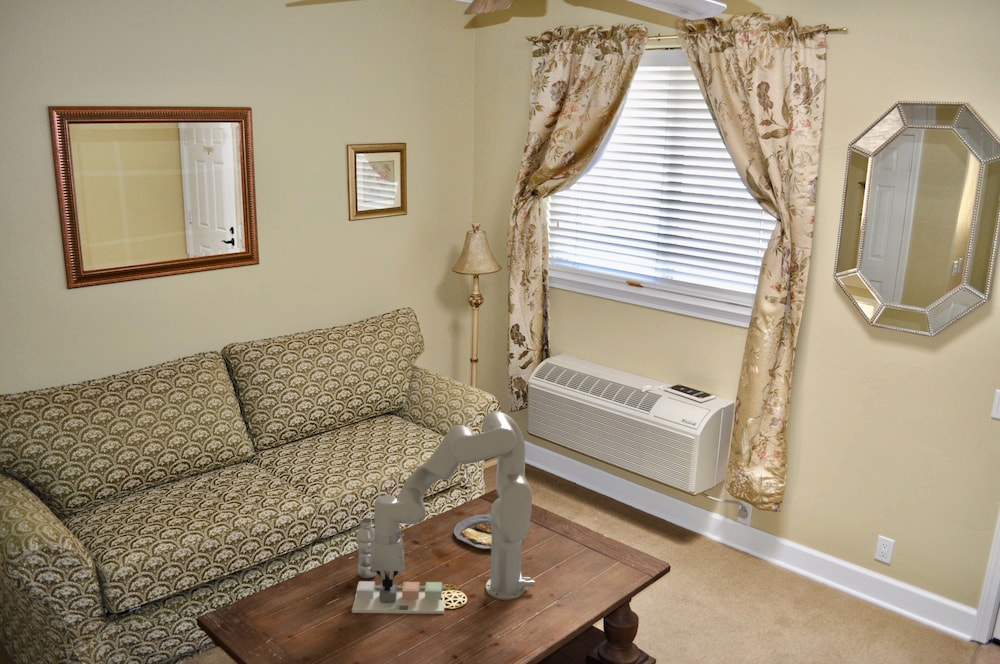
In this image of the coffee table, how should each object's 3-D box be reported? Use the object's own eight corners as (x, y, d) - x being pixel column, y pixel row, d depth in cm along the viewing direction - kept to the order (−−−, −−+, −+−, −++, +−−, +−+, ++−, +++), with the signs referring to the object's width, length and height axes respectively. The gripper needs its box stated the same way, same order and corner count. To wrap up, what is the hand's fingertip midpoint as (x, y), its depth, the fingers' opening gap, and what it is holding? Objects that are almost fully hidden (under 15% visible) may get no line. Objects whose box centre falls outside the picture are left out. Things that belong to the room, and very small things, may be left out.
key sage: (442, 590, 263) (442, 581, 262) (441, 599, 258) (441, 591, 257) (426, 590, 263) (426, 581, 262) (425, 599, 258) (425, 590, 257)
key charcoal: (397, 592, 263) (397, 583, 262) (395, 601, 258) (395, 593, 257) (381, 592, 263) (381, 583, 262) (379, 601, 258) (379, 592, 257)
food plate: (536, 533, 303) (536, 524, 302) (496, 560, 285) (496, 551, 284) (483, 513, 318) (483, 505, 317) (442, 538, 300) (442, 529, 299)
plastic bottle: (374, 582, 271) (373, 526, 265) (354, 579, 272) (352, 524, 267) (381, 571, 277) (379, 517, 272) (361, 568, 278) (360, 514, 273)
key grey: (375, 589, 263) (374, 581, 262) (373, 599, 258) (372, 590, 257) (359, 589, 262) (358, 581, 262) (356, 598, 258) (356, 590, 257)
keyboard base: (445, 591, 267) (445, 585, 266) (443, 613, 255) (443, 608, 255) (357, 590, 266) (357, 584, 266) (351, 612, 255) (351, 607, 254)
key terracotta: (419, 590, 263) (419, 581, 262) (418, 599, 258) (418, 590, 257) (403, 590, 263) (403, 581, 262) (402, 599, 258) (402, 590, 257)
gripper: (412, 529, 258) (412, 582, 263) (364, 528, 258) (365, 581, 263) (410, 542, 251) (410, 595, 256) (360, 541, 251) (361, 595, 256)
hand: (387, 588), depth 260 cm, fingers closed
